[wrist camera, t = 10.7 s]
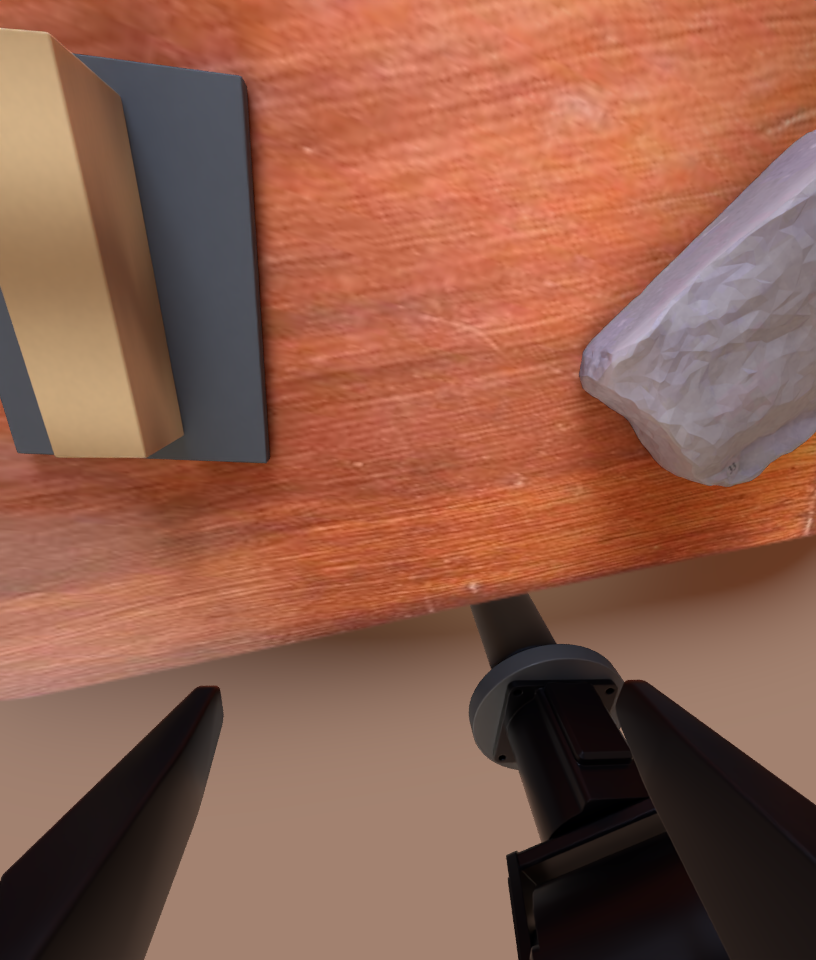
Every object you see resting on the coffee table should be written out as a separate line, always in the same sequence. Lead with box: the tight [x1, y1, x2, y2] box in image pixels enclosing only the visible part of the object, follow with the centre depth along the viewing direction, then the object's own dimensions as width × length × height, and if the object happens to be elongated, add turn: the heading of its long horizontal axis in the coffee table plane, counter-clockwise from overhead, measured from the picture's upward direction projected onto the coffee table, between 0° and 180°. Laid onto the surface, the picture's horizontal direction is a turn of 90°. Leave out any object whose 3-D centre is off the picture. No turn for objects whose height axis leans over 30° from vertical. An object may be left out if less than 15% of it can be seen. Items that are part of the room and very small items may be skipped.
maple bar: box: [0, 28, 184, 458], centre depth 13 cm, size 11×3×3 cm, turn 178°
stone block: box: [579, 130, 816, 487], centre depth 16 cm, size 12×5×10 cm
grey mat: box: [0, 53, 270, 463], centre depth 15 cm, size 13×10×1 cm
